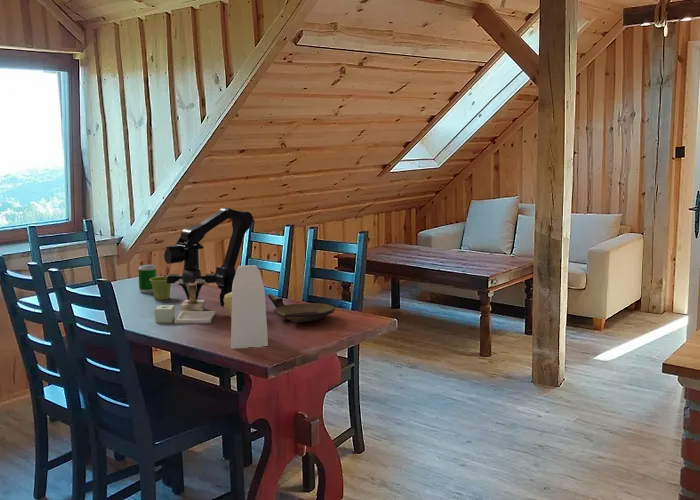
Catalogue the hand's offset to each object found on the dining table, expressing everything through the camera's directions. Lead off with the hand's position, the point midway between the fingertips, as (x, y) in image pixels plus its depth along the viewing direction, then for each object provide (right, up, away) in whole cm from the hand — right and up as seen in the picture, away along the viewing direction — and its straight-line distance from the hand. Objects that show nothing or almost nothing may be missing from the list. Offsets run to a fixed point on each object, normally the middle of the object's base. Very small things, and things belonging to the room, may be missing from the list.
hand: (192, 299), depth 272 cm
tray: (+4, -6, -12) cm, 14 cm away
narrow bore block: (-7, -7, -14) cm, 17 cm away
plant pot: (-18, -1, +22) cm, 29 cm away
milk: (+28, -11, -42) cm, 52 cm away
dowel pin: (0, -3, 0) cm, 3 cm away
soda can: (-28, +1, +36) cm, 45 cm away
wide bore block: (0, -4, +1) cm, 4 cm away
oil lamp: (+44, -7, -11) cm, 45 cm away
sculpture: (+21, -6, -9) cm, 23 cm away
